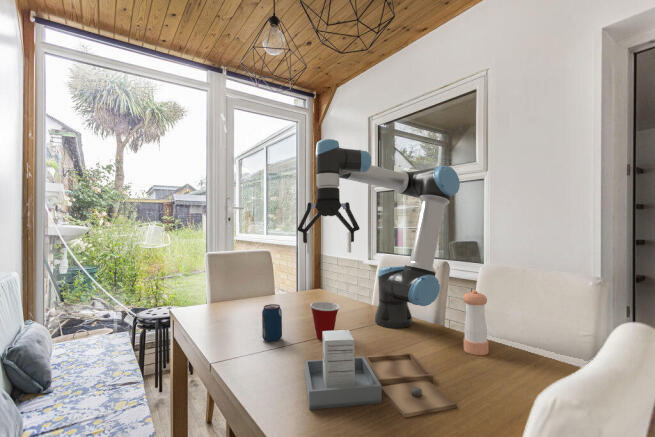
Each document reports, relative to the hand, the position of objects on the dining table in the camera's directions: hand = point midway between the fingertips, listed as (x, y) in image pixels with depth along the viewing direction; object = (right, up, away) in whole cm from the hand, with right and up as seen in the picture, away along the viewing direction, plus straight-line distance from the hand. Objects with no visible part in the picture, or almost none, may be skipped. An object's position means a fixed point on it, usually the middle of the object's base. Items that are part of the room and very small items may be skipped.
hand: (328, 252), depth 107 cm
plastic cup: (-1, -32, +11) cm, 34 cm away
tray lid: (+21, -31, -30) cm, 48 cm away
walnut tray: (+19, -31, -16) cm, 40 cm away
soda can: (-20, -32, +10) cm, 39 cm away
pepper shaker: (+47, -31, -2) cm, 57 cm away
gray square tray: (+3, -31, -25) cm, 40 cm away
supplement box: (+2, -31, -25) cm, 40 cm away
